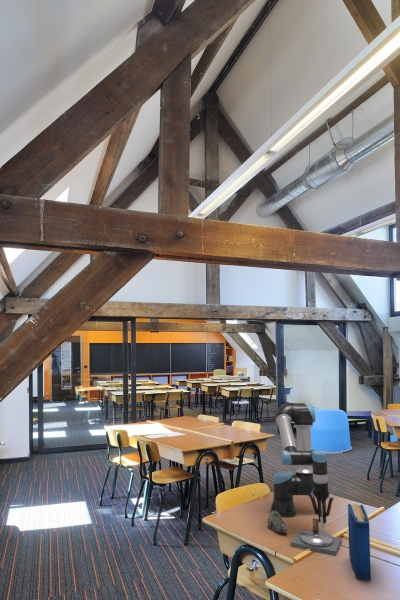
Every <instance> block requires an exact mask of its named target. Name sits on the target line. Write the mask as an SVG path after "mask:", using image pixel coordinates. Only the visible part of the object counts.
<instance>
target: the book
mask: <svg viewBox="0 0 400 600" xmlns="http://www.w3.org/2000/svg"><path fill="white" fill-rule="evenodd" d="M347 523H348V525H347V526H348V527H347V528H348V556H349V560H350V565H351V567H352V568H351V569H352V571H353V572H354V576H355V577H356V578H357V579H360V580H371V579H372V578H371V577H372V574H371V543H370V542H371V540H370V536H371V535H370V521H369V516H368V514H367V511H366V509H365V507H364V505H362V504H360V505H359V504H356V503H354V504H351V503H348V504H347Z"/></svg>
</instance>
